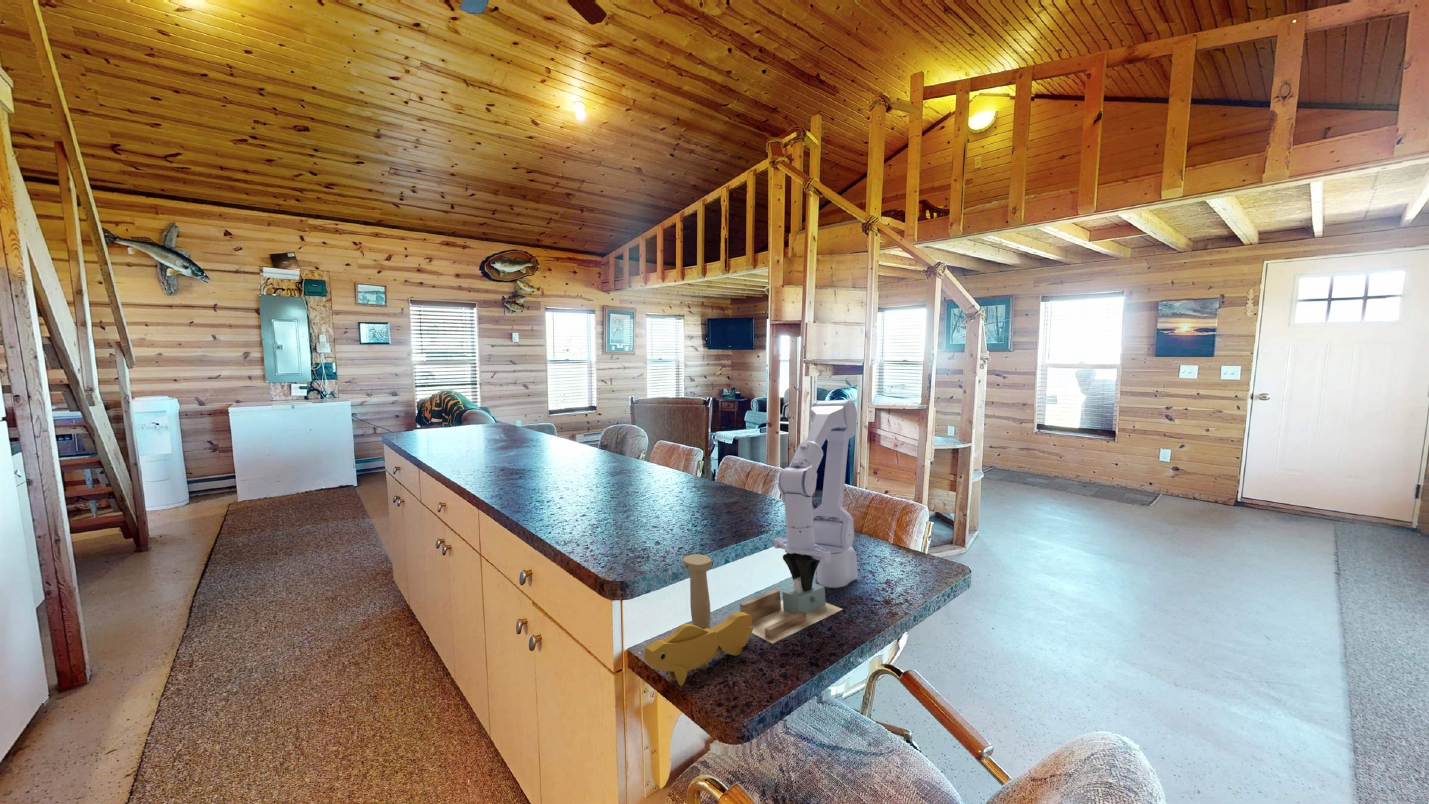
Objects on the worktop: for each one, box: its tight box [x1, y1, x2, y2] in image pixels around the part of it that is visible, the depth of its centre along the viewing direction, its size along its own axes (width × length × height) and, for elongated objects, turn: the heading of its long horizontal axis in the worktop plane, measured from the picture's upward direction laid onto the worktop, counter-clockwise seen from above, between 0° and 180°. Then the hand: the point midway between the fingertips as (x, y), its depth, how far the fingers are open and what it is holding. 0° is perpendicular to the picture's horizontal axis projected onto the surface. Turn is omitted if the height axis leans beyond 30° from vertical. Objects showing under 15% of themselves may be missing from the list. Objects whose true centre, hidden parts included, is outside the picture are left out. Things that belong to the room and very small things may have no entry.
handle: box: [682, 553, 713, 629], centre depth 103 cm, size 5×6×15 cm
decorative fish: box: [643, 611, 753, 687], centre depth 90 cm, size 22×3×10 cm, turn 127°
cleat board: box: [739, 589, 843, 644], centre depth 106 cm, size 20×12×5 cm, turn 127°
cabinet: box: [781, 577, 827, 615], centre depth 109 cm, size 8×5×6 cm, turn 127°
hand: (803, 588), depth 109 cm, fingers closed on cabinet
